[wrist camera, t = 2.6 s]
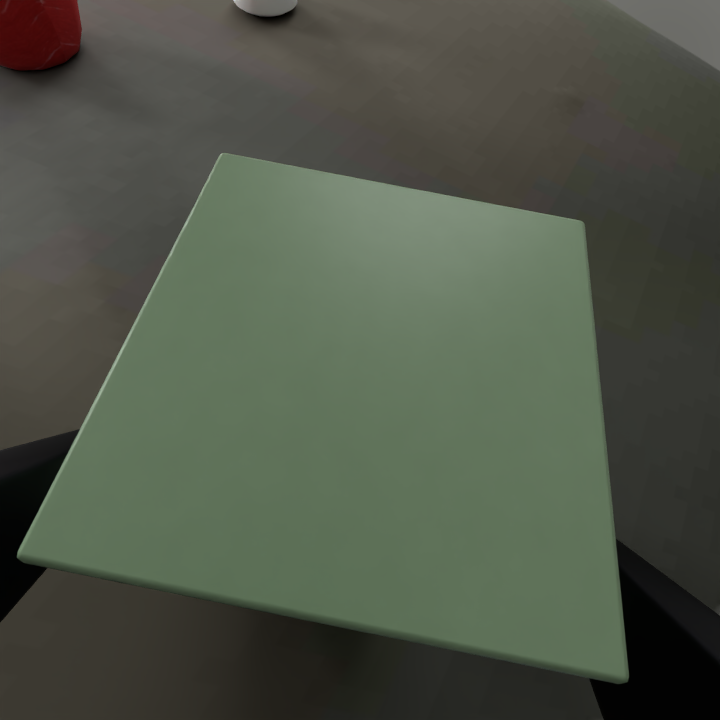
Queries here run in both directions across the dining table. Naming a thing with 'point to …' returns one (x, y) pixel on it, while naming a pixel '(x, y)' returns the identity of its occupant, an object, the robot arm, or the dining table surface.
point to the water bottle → (38, 33)
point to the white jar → (266, 6)
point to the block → (359, 424)
